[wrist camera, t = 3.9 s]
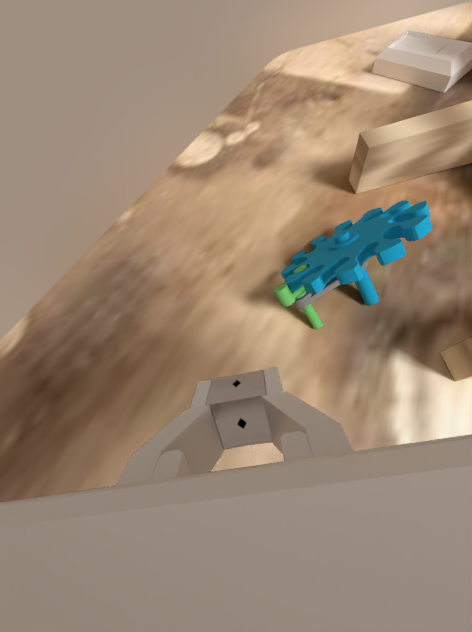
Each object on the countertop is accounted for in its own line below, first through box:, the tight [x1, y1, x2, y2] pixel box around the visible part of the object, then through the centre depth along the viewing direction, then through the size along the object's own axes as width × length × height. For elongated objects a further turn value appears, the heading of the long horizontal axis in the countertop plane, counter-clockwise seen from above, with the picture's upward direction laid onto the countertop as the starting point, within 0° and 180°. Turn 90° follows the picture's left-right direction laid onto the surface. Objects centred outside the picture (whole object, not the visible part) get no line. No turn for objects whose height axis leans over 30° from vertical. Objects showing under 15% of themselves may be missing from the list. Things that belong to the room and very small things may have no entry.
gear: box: [274, 201, 433, 329], centre depth 19 cm, size 11×6×10 cm
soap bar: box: [372, 31, 472, 93], centre depth 29 cm, size 5×9×3 cm, turn 42°
